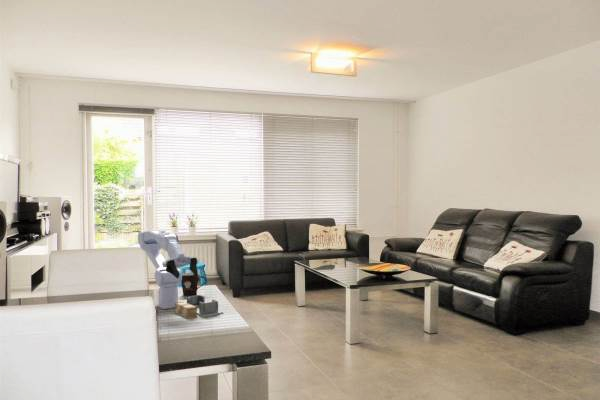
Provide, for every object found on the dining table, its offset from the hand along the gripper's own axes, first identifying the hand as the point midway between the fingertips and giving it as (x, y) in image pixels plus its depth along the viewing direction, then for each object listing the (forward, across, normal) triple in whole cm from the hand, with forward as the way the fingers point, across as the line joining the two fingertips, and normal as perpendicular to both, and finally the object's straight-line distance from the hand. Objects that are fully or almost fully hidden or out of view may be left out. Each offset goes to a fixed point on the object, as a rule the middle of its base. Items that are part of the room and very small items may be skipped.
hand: (187, 275), depth 183 cm
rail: (+6, 0, +15) cm, 16 cm away
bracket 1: (+1, +7, +18) cm, 19 cm away
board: (+6, +8, +15) cm, 18 cm away
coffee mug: (-24, +18, +34) cm, 46 cm away
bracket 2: (+11, +7, +11) cm, 18 cm away
